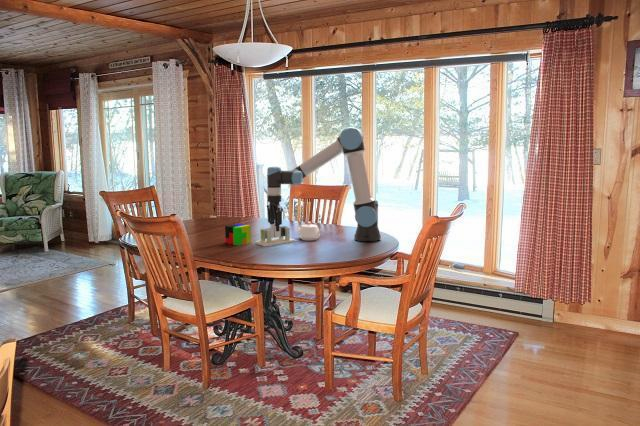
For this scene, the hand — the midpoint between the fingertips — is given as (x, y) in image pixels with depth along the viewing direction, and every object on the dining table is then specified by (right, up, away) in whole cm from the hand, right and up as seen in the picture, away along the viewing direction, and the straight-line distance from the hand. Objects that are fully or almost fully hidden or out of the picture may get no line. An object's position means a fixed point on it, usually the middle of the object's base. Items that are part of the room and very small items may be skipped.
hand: (275, 236), depth 293 cm
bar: (0, 0, 0) cm, 1 cm away
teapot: (+19, -2, +10) cm, 22 cm away
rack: (0, -4, +1) cm, 4 cm away
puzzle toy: (-21, -4, 0) cm, 21 cm away
